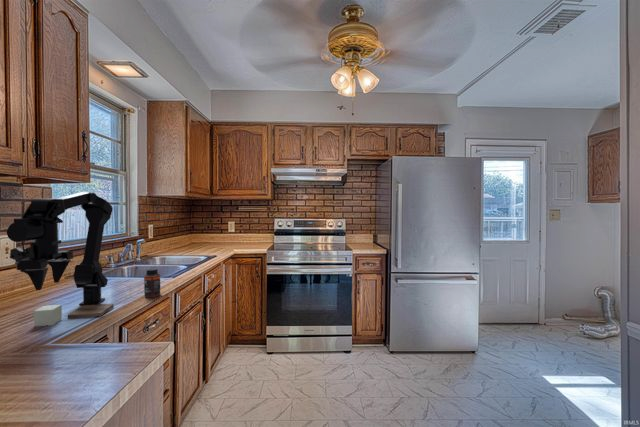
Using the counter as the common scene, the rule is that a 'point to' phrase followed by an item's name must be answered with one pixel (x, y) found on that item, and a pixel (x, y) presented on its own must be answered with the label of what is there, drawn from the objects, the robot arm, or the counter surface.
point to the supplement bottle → (152, 283)
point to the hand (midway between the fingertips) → (47, 286)
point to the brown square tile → (90, 310)
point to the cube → (47, 315)
